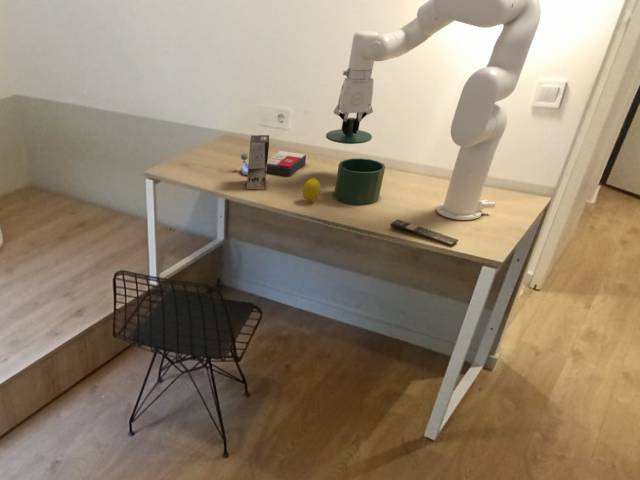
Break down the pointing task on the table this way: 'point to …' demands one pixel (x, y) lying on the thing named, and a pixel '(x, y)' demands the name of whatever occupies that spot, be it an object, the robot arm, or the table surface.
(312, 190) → the lemon
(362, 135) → the tin lid
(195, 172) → the table surface
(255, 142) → the coffee box
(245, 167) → the figurine
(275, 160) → the grey red flat block
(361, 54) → the robot arm
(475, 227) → the table surface
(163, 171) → the table surface
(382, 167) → the tin
